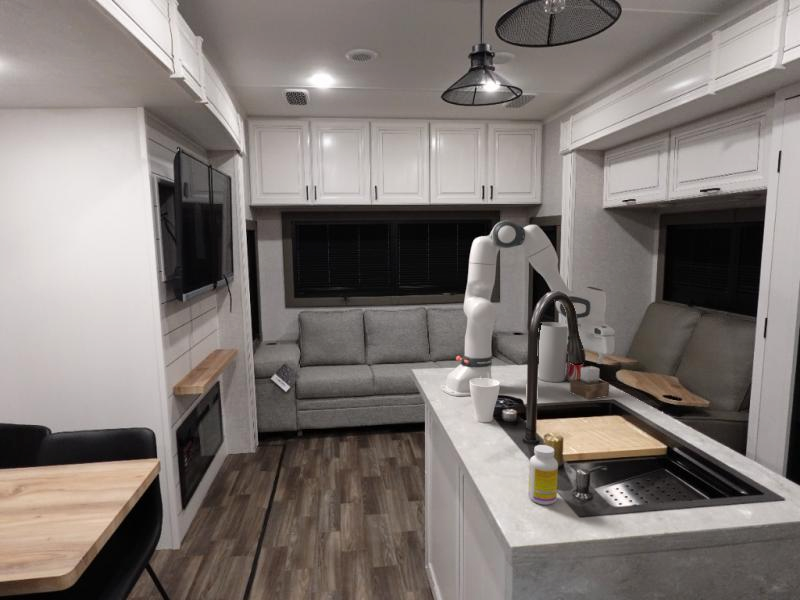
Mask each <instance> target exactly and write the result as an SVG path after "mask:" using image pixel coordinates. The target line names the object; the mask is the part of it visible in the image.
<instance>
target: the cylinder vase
mask: <svg viewBox="0 0 800 600" xmlns="http://www.w3.org/2000/svg"><path fill="white" fill-rule="evenodd" d="M541 323H542V325H541V330H540V340H539V379H538V380H540V381H543V382H549V383H560V382H563V381H565V380H566V363H567V354H568V334H569V333H568V331H569V327H568V328H567V325H568V324H567V323H564V322H555V321H545V322H544V321H542V322H541Z"/></svg>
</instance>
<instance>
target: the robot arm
mask: <svg viewBox="0 0 800 600" xmlns="http://www.w3.org/2000/svg"><path fill="white" fill-rule="evenodd" d="M513 247H519V248H520V249H521V250H522V252H523V253H524V255H525V257H526V259H527V260H528V262H529V264H530V265H531V267H533V269H534V270H535V271H536V272H537V273H538V274H540V275H541V277H543V279H544V281H545V282H546V284H547V286H548V287H549V289H550V291H551V292H552V291H561V292H563V293H565V294H566V295H567V296H569V298H570V299H571V301H572V303H573V305H574V308H575V311H576V315H577V318H576V319H580V318H581V321H580V322H581V323H577V324H578V331H579V336H580V339H581V342H582V345H583V347H584V348H583V350H584V349H585V350H588V351H592V352H594V353H598V356H599V357H598V358H596V360H595V363H596V364H597V365H598V364H599V365H601V364H603V360H604V359H605V357H606V356H608V355H612V354H613V353H614V352H615V337H614V336H613V335H615V333H616V331H615V329H614V328H613V327H610V326H609V325H608V324H607V323H606V319H605V313H606V309H607V296H606V295H607V294H606V292H605V291H604V290H603V289H601V288H599V287H593V286H586V287H584V288H583V289H581V290H579V291H577V292H572V291H571V290H570V289H569V288H568V287H567V285H566V282H565V281H564V279H563V277H562V276H561V274H560V271H559V267H558V266H559V265H558V264H559V258H558V254H557V252H556V250H555V247H554V246H553V244H552V242H551V240H550V239H549V237H548V236H547V234H546V233H545V232H544V231H543V229H542V228H541V227H540V226H539V225H537V224H527V225H526V226H524V227H523V226H521V225H518V224H517V223H516V222H513V221H511V220H507V219H506V220H501V221H498V222H497V223H496V224H495V225H494V226H493V228H492V230H491V231H490V233H489V234H488V235H484V236H483V235H481V236H478V237H475V238H474V239H473V241H472V243H471V247H470V253H469V259H468V273H467V283H466V287H465V288H466V289H465V293H464V294H465V295H464V301H463V312H464V315H465V316H466V317H467V321H466V328H465V329H466V331H465V335H464V354H463V356H460V355H457V356H456V358H455V360H456V361H458V362H460V364H458V366H456V368H454V369H453V370H452V371H451V372H450V373H448V375H447V378H446V382H445V384H441V385H440V390H441V391H442V392H444V393H446V394H448V395H451V396H453V397H467V396H469V397H471V392H470V380H472V379H476V378H489V379H493V377H492V365H493V356H492V339H493V338H492V337H493V331H494V326H495V320H496V319H495V318H496V316H497V315H496V313H497V312H496V308H495V305H494V303H493V302H491V300H492V299H491V298H492V293H493V290H494V286H495V282H496V281H495V280H496V271H497V270H496V269H497V268H496V267H497V258H498V257H497V256H498V254H499V251H500V250H501V249H509V248H513ZM554 307H555V310H556V311H557V312H558V313H559V314H560V315H562V316H563V317H564V318H566V312H565V309H564V307H563V305H562V304H561V303H560V302H559V301H556V302H555V301H554Z"/></svg>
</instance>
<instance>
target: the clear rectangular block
mask: <svg viewBox="0 0 800 600" xmlns="http://www.w3.org/2000/svg"><path fill="white" fill-rule="evenodd" d="M599 380H600V368H599V367H596V366H593V365H590V366H583V367H582V368H581V377H580V382H582V383H584V384H587V385H593V384H599Z"/></svg>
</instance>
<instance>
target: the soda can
mask: <svg viewBox="0 0 800 600" xmlns="http://www.w3.org/2000/svg"><path fill="white" fill-rule="evenodd" d="M582 367H584V363H583V364H581V365H572V364H570V363H569V362H568V361H567V360H566V376H565V380H567V381H568V382H570V380H571V379H577V378H580V377H581V368H582Z"/></svg>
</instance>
